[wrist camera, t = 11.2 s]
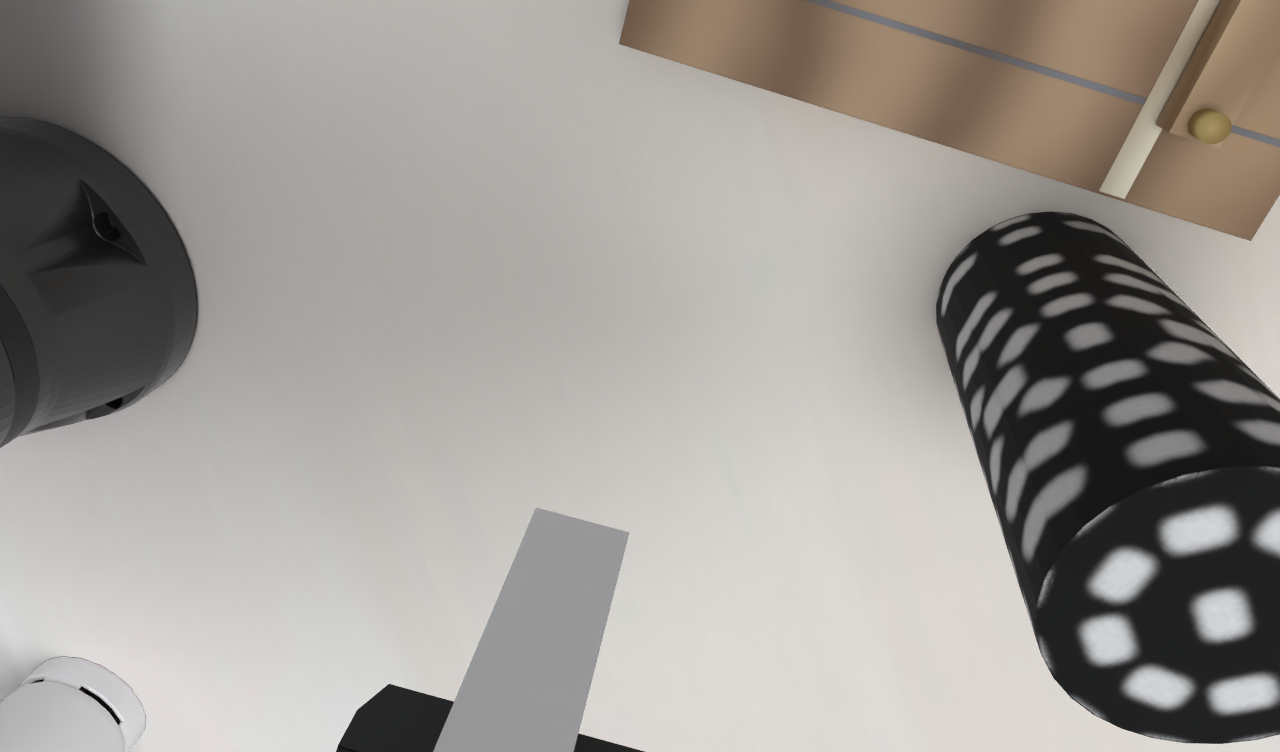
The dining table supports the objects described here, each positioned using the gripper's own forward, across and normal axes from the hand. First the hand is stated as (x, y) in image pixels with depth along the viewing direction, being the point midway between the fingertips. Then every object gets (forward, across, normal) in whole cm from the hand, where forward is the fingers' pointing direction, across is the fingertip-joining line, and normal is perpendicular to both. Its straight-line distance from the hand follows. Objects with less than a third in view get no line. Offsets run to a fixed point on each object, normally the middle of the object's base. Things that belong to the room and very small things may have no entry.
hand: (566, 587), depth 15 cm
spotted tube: (+28, +15, -2) cm, 32 cm away
